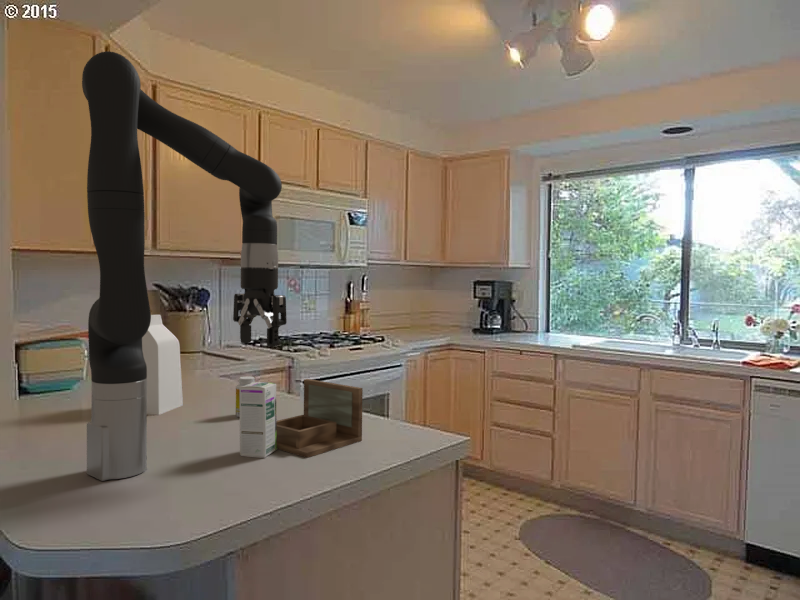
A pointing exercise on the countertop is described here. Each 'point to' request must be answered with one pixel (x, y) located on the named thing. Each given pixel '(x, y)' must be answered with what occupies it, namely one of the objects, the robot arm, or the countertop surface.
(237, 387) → the supplement bottle
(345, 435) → the display stand
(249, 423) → the syrup box
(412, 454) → the countertop surface
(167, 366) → the milk
